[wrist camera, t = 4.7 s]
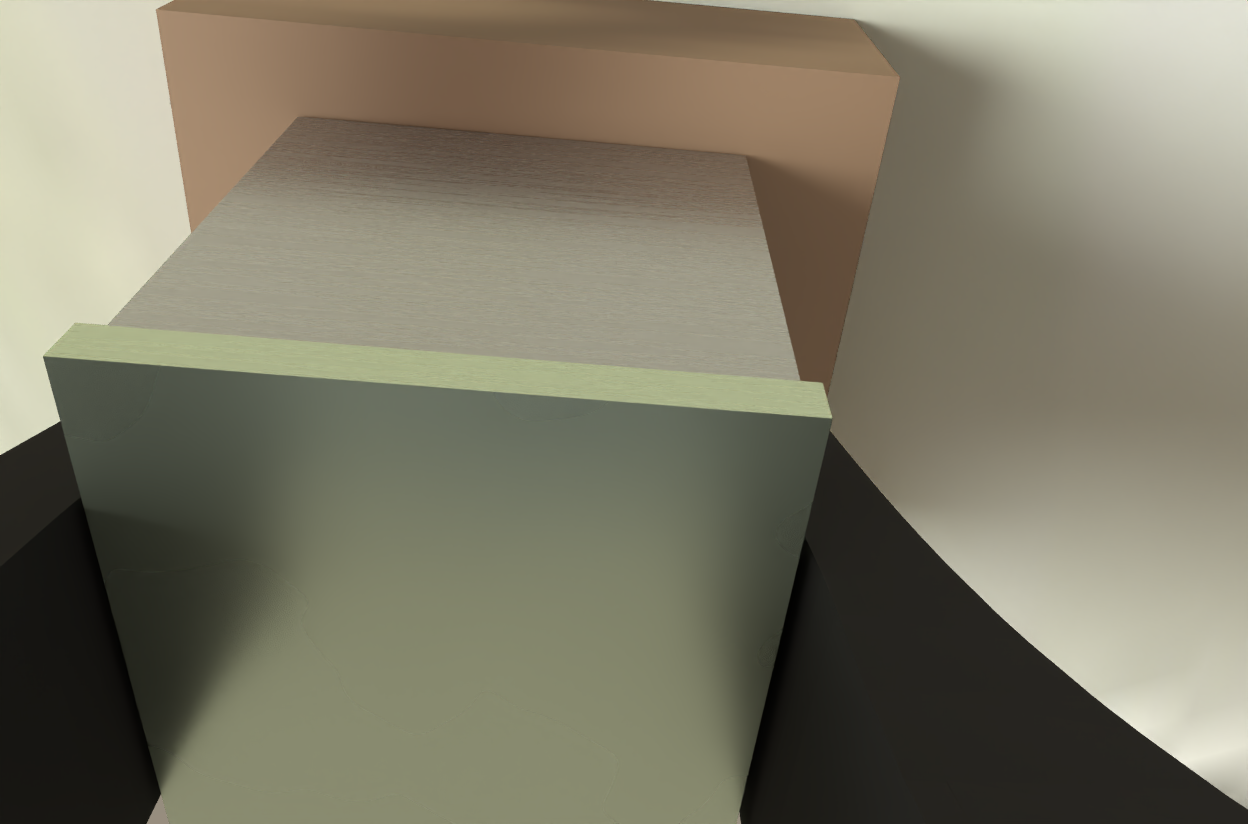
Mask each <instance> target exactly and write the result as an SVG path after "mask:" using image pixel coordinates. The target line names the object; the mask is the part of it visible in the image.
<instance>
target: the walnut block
mask: <svg viewBox="0 0 1248 824" xmlns="http://www.w3.org/2000/svg"><path fill="white" fill-rule="evenodd" d="M156 13H157V19H158V25H159V32H160V38H161V44H162V51H163V57H164V63H165V70H166V76H167V82H168V89H169V95H170V101H171V108H172V114H173V120H174V127H175V133H176V139H177V146H178V152H179V158H180V165H181V171H182V177H183V184H184V190H185V196H186V203H187V209H188V215H189V222H190V228H191V233H192V232H193V231H194V230H195V229H196V228H197V227H198V225H199V224H200V223H201V222H202V221H203V220H204V219H205V218H206V217H207V216H208V215H209V213H210V212H211V211H212V210H213V209H214V208H215V207H216V206H217V205H218V204H219V203H220V201H221V200H222V199H223V198H224V197H225V196H226V195H227V194H228V193H229V192H230V190H231V189H232V188H233V187H234V186H235V185H236V184H237V183H238V182H239V181H240V180H241V178H242V177H243V176H244V175H245V174H246V173H247V172H248V171H249V170H250V169H251V167H252V166H253V165H254V164H255V163H256V162H257V161H258V160H259V159H260V158H261V157H262V155H263V154H264V153H265V152H266V151H267V150H268V149H269V148H270V147H271V146H272V144H273V143H274V142H275V141H276V140H277V139H278V138H279V137H280V136H281V135H282V134H283V132H284V131H285V130H286V129H287V128H288V127H289V126H290V125H291V124H292V123H293V122H294V120H295V119H296V118H297V117H309V118H321V119H332V120H344V121H355V122H367V123H378V124H390V125H401V126H413V127H424V128H436V129H447V130H459V131H470V132H482V133H493V134H505V135H516V136H528V137H539V138H550V139H562V140H573V141H585V142H596V143H608V144H619V145H631V146H642V147H654V148H665V149H677V150H688V151H700V152H711V153H723V154H734V155H746V159H747V163H748V167H749V171H750V175H751V180H752V184H753V188H754V192H755V196H756V200H757V204H758V208H759V213H760V217H761V221H762V225H763V229H764V233H765V237H766V241H767V245H768V250H769V254H770V258H771V262H772V266H773V270H774V274H775V278H776V282H777V287H778V291H779V295H780V299H781V303H782V307H783V311H784V315H785V319H786V324H787V328H788V332H789V336H790V340H791V344H792V348H793V352H794V356H795V361H796V365H797V369H798V373H799V377H800V381H807V382H820V383H823V386H824V390H825V393H826V397H827V396H828V392H829V387H830V383H831V378H832V374H833V370H834V365H835V361H836V357H837V352H838V348H839V343H840V339H841V335H842V330H843V326H844V321H845V317H846V313H847V308H848V304H849V300H850V295H851V291H852V286H853V282H854V278H855V273H856V269H857V264H858V260H859V256H860V251H861V247H862V243H863V238H864V234H865V229H866V225H867V221H868V216H869V212H870V207H871V203H872V199H873V194H874V190H875V186H876V181H877V177H878V172H879V168H880V164H881V159H882V155H883V150H884V146H885V142H886V137H887V133H888V129H889V124H890V120H891V115H892V111H893V107H894V102H895V98H896V93H897V89H898V85H899V80H900V76H899V75H898V74H897V73H896V71H895V70H894V69H893V68H892V66H891V65H890V64H889V63H888V61H887V60H886V59H885V57H884V56H883V55H882V54H881V52H880V51H879V50H878V49H877V47H876V46H875V45H874V44H873V42H872V41H871V40H870V39H869V37H868V36H867V35H866V34H865V32H864V31H863V30H862V28H861V27H860V26H859V25H858V23H857V22H856V21H855V20H854V19H843V18H833V17H822V16H811V15H800V14H789V13H779V12H768V11H757V10H746V9H735V8H725V7H714V6H703V5H692V4H681V3H671V2H660V1H649V0H173V1H172V2H170V3H168V4H166V5H164V6H162V7H160V8H158V9H156Z"/></svg>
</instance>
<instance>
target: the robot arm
mask: <svg viewBox="0 0 1248 824" xmlns="http://www.w3.org/2000/svg"><path fill="white" fill-rule="evenodd" d="M160 795H161V792H160V788H159V784H158V781H157V777H156V773H155V769H154V766H153V762H152V758H151V755H150V751H149V747H148V743H147V740H146V736H145V732H144V729H143V725H142V721H141V717H140V714H139V710H138V706H137V703H136V699H135V695H134V692H133V688H132V684H131V680H130V677H129V673H128V669H127V666H126V662H125V658H124V654H123V651H122V647H121V643H120V640H119V636H118V632H117V629H116V625H115V621H114V617H113V614H112V610H111V606H110V603H109V599H108V595H107V591H106V588H105V584H104V580H103V577H102V573H101V569H100V566H99V562H98V558H97V554H96V551H95V547H94V543H93V540H92V536H91V532H90V528H89V525H88V521H87V517H86V514H85V510H84V506H83V503H82V499H81V495H80V491H79V488H78V484H77V480H76V477H75V473H74V469H73V465H72V462H71V458H70V454H69V451H68V447H67V443H66V440H65V436H64V432H63V428H62V425H61V421H60V422H58V423H57V424H55V425H53V426H51V427H49V428H48V429H46V430H44V431H42V432H41V433H39V434H37V435H35V436H34V437H32V438H30V439H28V440H26V441H25V442H23V443H21V444H19V445H18V446H16V447H14V448H12V449H11V450H9V451H7V452H5V453H3V454H2V455H0V824H146V823H147V821H148V819H149V817H150V815H151V813H152V811H153V809H154V807H155V805H156V803H157V801H158V799H159V797H160ZM739 812H740V819H741V824H1248V809H1246V808H1245V807H1243V806H1242V805H1240V804H1239V803H1237V802H1236V801H1234V800H1233V799H1231V798H1230V797H1228V796H1227V795H1225V794H1224V793H1222V792H1221V791H1220V790H1218V789H1217V788H1215V787H1214V786H1213V785H1211V784H1210V783H1209V782H1207V781H1206V780H1204V779H1203V778H1202V777H1200V776H1199V775H1197V774H1196V773H1195V772H1193V771H1192V770H1191V769H1189V768H1188V767H1186V766H1185V765H1184V764H1182V763H1181V762H1180V761H1178V760H1177V759H1175V758H1174V757H1173V756H1171V755H1170V754H1168V753H1167V752H1166V751H1164V750H1163V749H1162V748H1160V747H1159V746H1157V745H1156V744H1155V743H1153V742H1152V741H1151V740H1149V739H1148V738H1146V737H1145V736H1144V735H1142V734H1141V733H1139V732H1138V731H1137V730H1136V729H1134V728H1133V727H1132V726H1130V725H1129V724H1128V723H1127V722H1125V721H1124V720H1123V719H1121V718H1120V717H1119V716H1117V715H1116V714H1115V713H1114V712H1112V711H1111V710H1110V709H1108V708H1107V707H1106V706H1105V705H1103V704H1102V703H1101V702H1099V701H1098V700H1097V699H1096V698H1094V697H1093V696H1092V695H1091V694H1090V693H1088V692H1087V691H1086V690H1085V689H1084V688H1082V687H1081V686H1080V685H1079V684H1078V683H1077V682H1075V681H1074V680H1073V679H1072V678H1071V677H1069V676H1068V675H1067V674H1066V673H1065V672H1063V671H1062V670H1061V669H1060V668H1059V667H1058V666H1056V665H1055V664H1054V663H1053V662H1052V661H1050V660H1049V659H1048V658H1047V657H1046V656H1044V655H1043V654H1042V653H1041V652H1040V651H1039V650H1037V649H1036V648H1035V647H1034V646H1033V645H1031V644H1030V643H1029V642H1028V641H1027V640H1026V639H1025V638H1023V637H1022V636H1021V635H1020V634H1019V633H1018V632H1017V631H1016V630H1015V629H1014V628H1012V627H1011V626H1010V625H1009V624H1008V623H1007V622H1006V621H1005V620H1004V619H1002V618H1001V617H1000V616H999V615H998V614H997V613H996V612H995V611H994V610H993V609H992V608H991V607H990V606H989V605H988V604H987V603H986V602H985V601H984V600H983V599H982V598H981V597H980V596H979V595H978V594H977V593H976V592H975V591H974V590H973V589H972V588H971V587H970V586H969V585H967V584H966V583H965V582H964V581H963V580H962V579H961V578H960V577H959V576H958V575H957V574H956V573H955V572H954V571H953V570H952V569H951V568H950V567H949V566H948V565H947V564H946V563H945V562H944V561H943V560H942V559H941V558H940V556H939V555H938V554H937V553H936V552H935V551H934V550H933V549H932V548H931V547H930V546H929V545H928V544H927V543H926V542H925V541H924V540H923V539H922V538H921V536H920V535H919V534H918V533H917V532H916V531H915V530H914V529H913V528H912V527H911V526H910V524H909V523H908V522H907V521H906V520H905V519H904V518H903V517H902V516H901V514H900V513H899V512H898V511H897V510H896V509H895V508H894V507H893V505H892V504H891V503H890V502H889V501H888V500H887V499H886V497H885V496H884V495H883V494H882V493H881V492H880V491H879V489H878V488H877V487H876V486H875V485H874V484H873V482H872V481H871V480H870V479H869V478H868V476H867V475H866V474H865V473H864V472H863V470H862V469H861V468H860V467H859V466H858V464H857V463H856V462H855V461H854V460H853V458H852V457H851V456H850V455H849V454H848V452H847V451H846V450H845V449H844V448H843V446H842V445H841V444H840V443H839V441H838V440H837V439H836V438H835V436H834V435H833V434H832V433H831V432H830V431H829V435H828V440H827V444H826V448H825V452H824V456H823V461H822V465H821V469H820V473H819V477H818V482H817V486H816V490H815V494H814V499H813V503H812V507H811V511H810V515H809V520H808V524H807V528H806V532H805V536H804V541H803V545H802V549H801V553H800V557H799V562H798V566H797V570H796V574H795V579H794V583H793V587H792V591H791V595H790V600H789V604H788V608H787V612H786V616H785V621H784V625H783V629H782V633H781V637H780V642H779V646H778V650H777V654H776V659H775V663H774V667H773V671H772V675H771V680H770V684H769V688H768V692H767V696H766V701H765V705H764V709H763V713H762V717H761V722H760V726H759V730H758V734H757V739H756V743H755V747H754V751H753V755H752V760H751V764H750V768H749V772H748V776H747V781H746V785H745V789H744V793H743V798H742V802H741V806H740V810H739Z"/></svg>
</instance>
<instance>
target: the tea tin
mask: <svg viewBox="0 0 1248 824" xmlns="http://www.w3.org/2000/svg"><path fill="white" fill-rule="evenodd" d="M43 358H44V362H45V365H46V369H47V373H48V377H49V380H50V384H51V388H52V391H53V395H54V399H55V402H56V406H57V410H58V414H59V417H60V421H61V425H62V428H63V432H64V436H65V440H66V443H67V447H68V451H69V454H70V458H71V462H72V465H73V469H74V473H75V477H76V480H77V484H78V488H79V491H80V495H81V499H82V503H83V506H84V510H85V514H86V517H87V521H88V525H89V528H90V532H91V536H92V540H93V543H94V547H95V551H96V554H97V558H98V562H99V566H100V569H101V573H102V577H103V580H104V584H105V588H106V591H107V595H108V599H109V603H110V606H111V610H112V614H113V617H114V621H115V625H116V629H117V632H118V636H119V640H120V643H121V647H122V651H123V654H124V658H125V662H126V666H127V669H128V673H129V677H130V680H131V684H132V688H133V692H134V695H135V699H136V703H137V706H138V710H139V714H140V717H141V721H142V725H143V729H144V732H145V736H146V740H147V743H148V747H149V751H150V755H151V758H152V762H153V766H154V769H155V773H156V777H157V781H158V784H159V788H160V792H161V795H162V799H163V803H164V806H165V810H166V814H167V818H168V821H169V824H736V823H737V818H738V814H739V810H740V806H741V802H742V798H743V793H744V789H745V785H746V781H747V776H748V772H749V768H750V764H751V760H752V755H753V751H754V747H755V743H756V739H757V734H758V730H759V726H760V722H761V717H762V713H763V709H764V705H765V701H766V696H767V692H768V688H769V684H770V680H771V675H772V671H773V667H774V663H775V659H776V654H777V650H778V646H779V642H780V637H781V633H782V629H783V625H784V621H785V616H786V612H787V608H788V604H789V600H790V595H791V591H792V587H793V583H794V579H795V574H796V570H797V566H798V562H799V557H800V553H801V549H802V545H803V541H804V536H805V532H806V528H807V524H808V520H809V515H810V511H811V507H812V503H813V499H814V494H815V490H816V486H817V482H818V477H819V473H820V469H821V465H822V461H823V456H824V452H825V448H826V444H827V440H828V435H829V431H830V427H831V423H832V415H831V411H830V408H829V404H828V400H827V397H826V393H825V390H824V386H823V383H820V382H807V381H800V377H799V373H798V369H797V365H796V361H795V356H794V352H793V348H792V344H791V340H790V336H789V332H788V328H787V324H786V319H785V315H784V311H783V307H782V303H781V299H780V295H779V291H778V287H777V282H776V278H775V274H774V270H773V266H772V262H771V258H770V254H769V250H768V245H767V241H766V237H765V233H764V229H763V225H762V221H761V217H760V213H759V208H758V204H757V200H756V196H755V192H754V188H753V184H752V180H751V175H750V171H749V167H748V163H747V159H746V155H734V154H723V153H711V152H700V151H688V150H677V149H665V148H654V147H642V146H631V145H619V144H608V143H596V142H585V141H573V140H562V139H550V138H539V137H528V136H516V135H505V134H493V133H482V132H470V131H459V130H447V129H436V128H424V127H413V126H401V125H390V124H378V123H367V122H355V121H344V120H332V119H321V118H309V117H297V118H296V119H295V120H294V122H293V123H292V124H291V125H290V126H289V127H288V128H287V129H286V130H285V131H284V132H283V134H282V135H281V136H280V137H279V138H278V139H277V140H276V141H275V142H274V143H273V144H272V146H271V147H270V148H269V149H268V150H267V151H266V152H265V153H264V154H263V155H262V157H261V158H260V159H259V160H258V161H257V162H256V163H255V164H254V165H253V166H252V167H251V169H250V170H249V171H248V172H247V173H246V174H245V175H244V176H243V177H242V178H241V180H240V181H239V182H238V183H237V184H236V185H235V186H234V187H233V188H232V189H231V190H230V192H229V193H228V194H227V195H226V196H225V197H224V198H223V199H222V200H221V201H220V203H219V204H218V205H217V206H216V207H215V208H214V209H213V210H212V211H211V212H210V213H209V215H208V216H207V217H206V218H205V219H204V220H203V221H202V222H201V223H200V224H199V225H198V227H197V228H196V229H195V230H194V231H193V232H192V233H191V234H190V235H189V236H188V238H187V239H186V240H185V241H184V242H183V243H182V244H181V245H180V246H179V247H178V248H177V250H176V251H175V252H174V253H173V254H172V255H171V256H170V257H169V258H168V259H167V261H166V262H165V263H164V264H163V265H162V266H161V267H160V268H159V269H158V270H157V271H156V273H155V274H154V275H153V276H152V277H151V278H150V279H149V280H148V281H147V282H146V284H145V285H144V286H143V287H142V288H141V289H140V290H139V291H138V292H137V293H136V294H135V296H134V297H133V298H132V299H131V300H130V301H129V302H128V303H127V304H126V305H125V306H124V308H123V309H122V310H121V311H120V312H119V313H118V314H117V315H116V316H115V317H114V319H113V320H112V321H111V322H110V323H109V324H108V325H96V324H83V323H75V324H74V325H73V326H72V327H71V328H70V329H69V330H68V331H67V332H66V333H65V334H64V335H63V336H62V337H61V338H60V339H59V340H58V341H57V342H56V343H55V344H54V345H53V346H52V347H51V348H50V349H49V350H48V352H47V353H46V354H45V355H44V356H43Z"/></svg>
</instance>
